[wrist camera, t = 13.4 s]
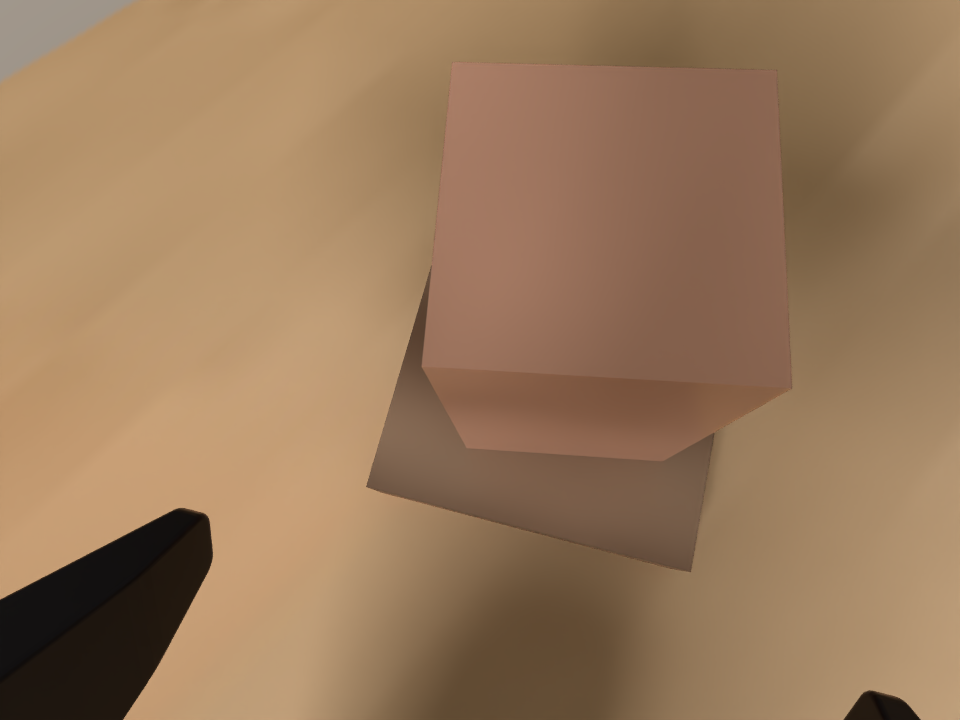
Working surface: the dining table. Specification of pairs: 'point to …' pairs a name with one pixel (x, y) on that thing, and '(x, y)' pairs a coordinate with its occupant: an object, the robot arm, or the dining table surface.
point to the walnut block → (538, 479)
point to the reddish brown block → (607, 257)
